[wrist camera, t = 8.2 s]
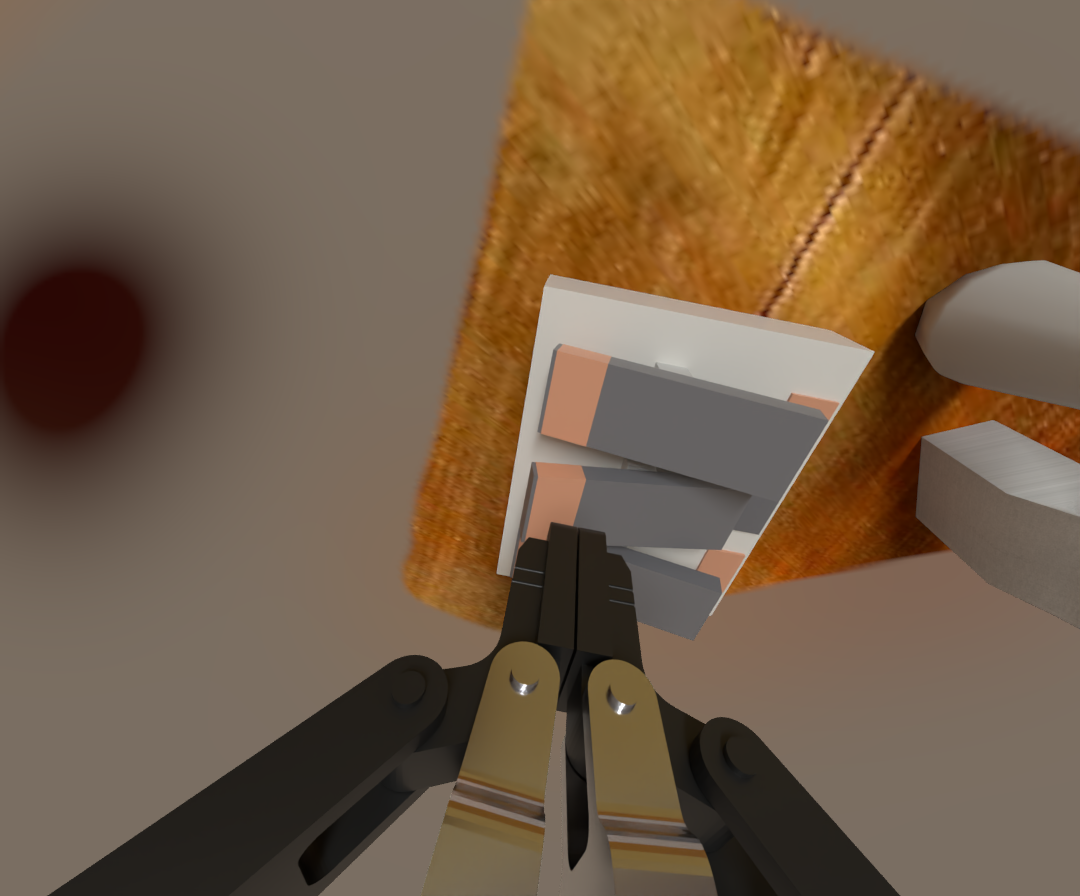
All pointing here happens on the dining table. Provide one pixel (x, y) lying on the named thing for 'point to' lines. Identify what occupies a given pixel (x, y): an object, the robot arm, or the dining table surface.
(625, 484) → the switch
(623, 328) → the switch box
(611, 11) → the dining table surface
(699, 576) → the switch
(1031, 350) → the salt shaker
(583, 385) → the switch
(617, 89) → the dining table surface
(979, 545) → the white gabled box
